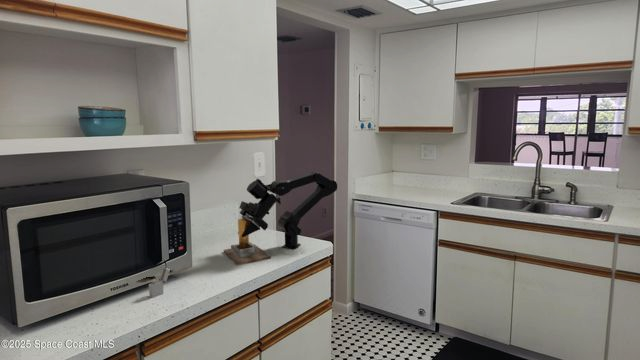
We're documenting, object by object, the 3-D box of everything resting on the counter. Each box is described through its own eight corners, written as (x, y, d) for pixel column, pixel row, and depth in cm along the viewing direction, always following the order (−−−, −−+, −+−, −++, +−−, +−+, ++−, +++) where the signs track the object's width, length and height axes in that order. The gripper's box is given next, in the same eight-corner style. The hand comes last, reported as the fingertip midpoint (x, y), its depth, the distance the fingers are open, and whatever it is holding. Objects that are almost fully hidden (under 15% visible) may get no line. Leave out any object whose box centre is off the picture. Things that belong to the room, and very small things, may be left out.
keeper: (254, 246, 179) (254, 237, 178) (270, 258, 163) (270, 249, 163) (223, 252, 172) (223, 243, 171) (237, 265, 156) (237, 255, 156)
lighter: (152, 298, 129) (150, 274, 128) (149, 296, 130) (147, 273, 129) (171, 290, 135) (170, 267, 133) (168, 289, 136) (167, 266, 134)
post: (242, 248, 169) (241, 218, 167) (250, 249, 168) (249, 218, 166) (237, 251, 166) (236, 220, 164) (245, 252, 164) (244, 221, 162)
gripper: (243, 190, 173) (219, 219, 169) (259, 197, 157) (233, 229, 153) (260, 206, 178) (238, 234, 174) (278, 214, 162) (253, 245, 159)
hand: (240, 235), depth 165 cm, fingers closed on post, 4 cm apart
